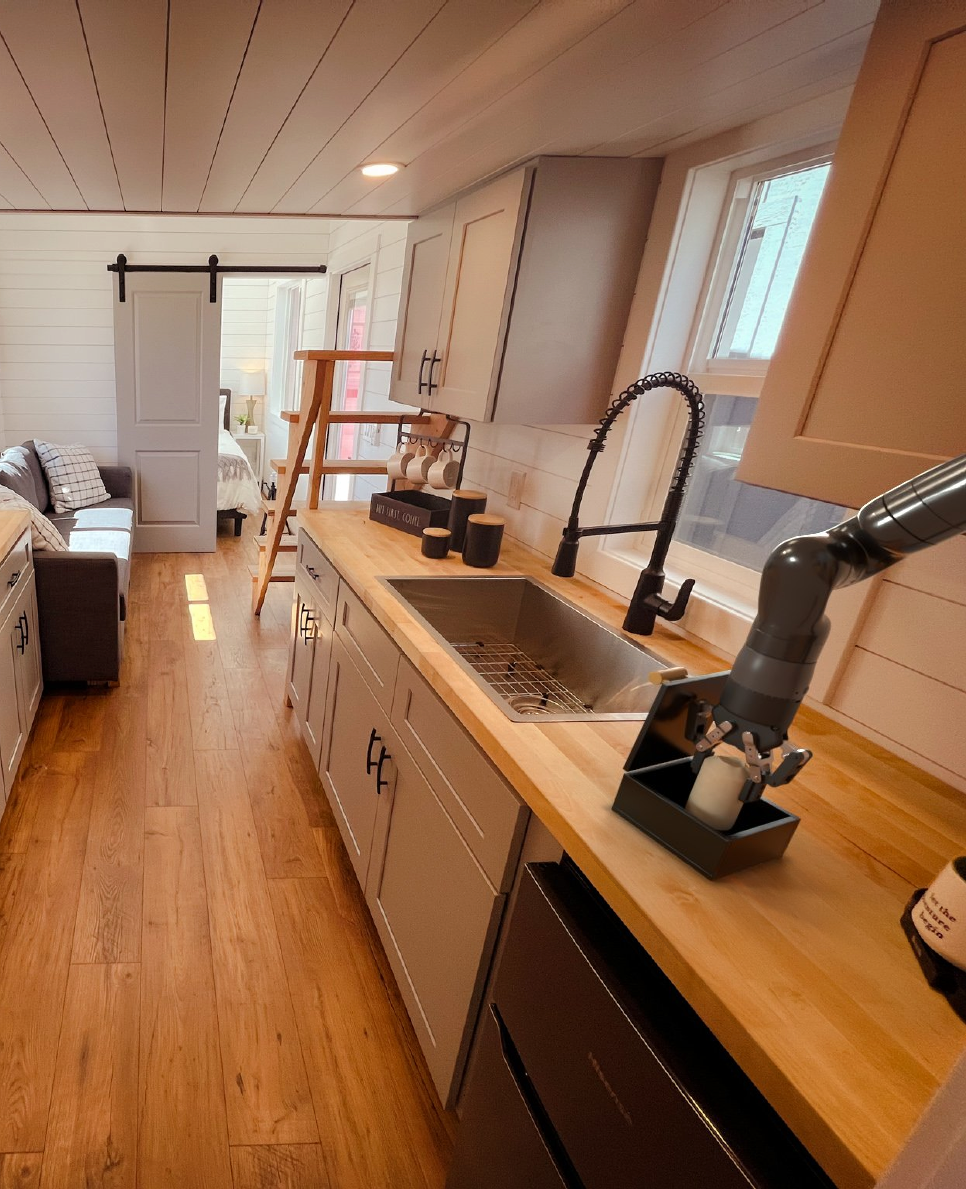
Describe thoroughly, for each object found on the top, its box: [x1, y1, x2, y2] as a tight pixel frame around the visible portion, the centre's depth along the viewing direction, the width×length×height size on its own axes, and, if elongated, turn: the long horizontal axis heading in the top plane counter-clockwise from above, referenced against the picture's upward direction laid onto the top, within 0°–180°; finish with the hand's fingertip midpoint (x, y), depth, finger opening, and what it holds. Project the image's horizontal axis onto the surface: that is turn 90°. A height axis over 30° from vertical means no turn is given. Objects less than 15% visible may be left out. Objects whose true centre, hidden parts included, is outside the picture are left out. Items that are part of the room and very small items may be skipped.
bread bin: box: [610, 756, 802, 882], centre depth 93 cm, size 15×15×7 cm
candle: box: [685, 755, 750, 830], centre depth 90 cm, size 6×6×10 cm
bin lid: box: [622, 666, 731, 773], centre depth 96 cm, size 16×15×5 cm
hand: (721, 786), depth 90 cm, fingers closed on candle, 5 cm apart
